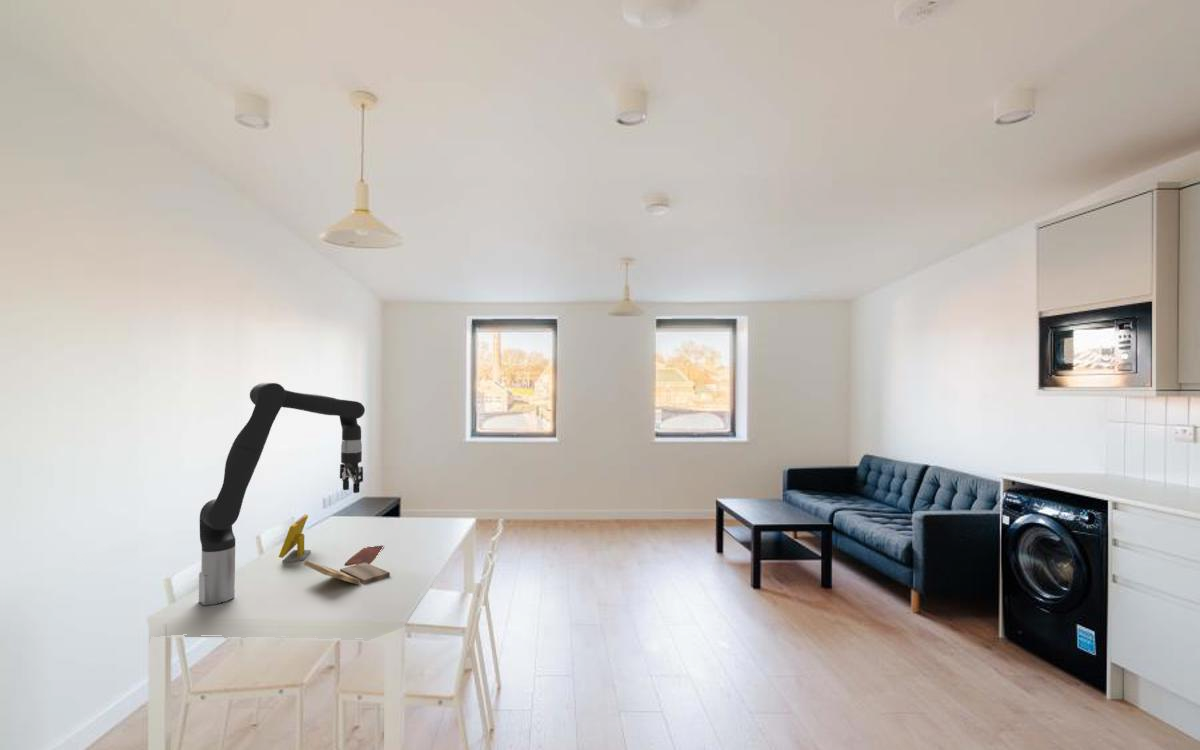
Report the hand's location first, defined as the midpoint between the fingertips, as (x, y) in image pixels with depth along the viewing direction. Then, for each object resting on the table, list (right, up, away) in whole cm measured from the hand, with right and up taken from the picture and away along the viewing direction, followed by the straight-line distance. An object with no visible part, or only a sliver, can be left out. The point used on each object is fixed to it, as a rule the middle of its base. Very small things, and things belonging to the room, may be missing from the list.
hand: (351, 491), depth 216 cm
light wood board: (+3, -25, -22) cm, 34 cm away
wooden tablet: (+2, -30, +11) cm, 32 cm away
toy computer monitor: (-27, -30, +9) cm, 41 cm away
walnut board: (+11, -29, -12) cm, 34 cm away
